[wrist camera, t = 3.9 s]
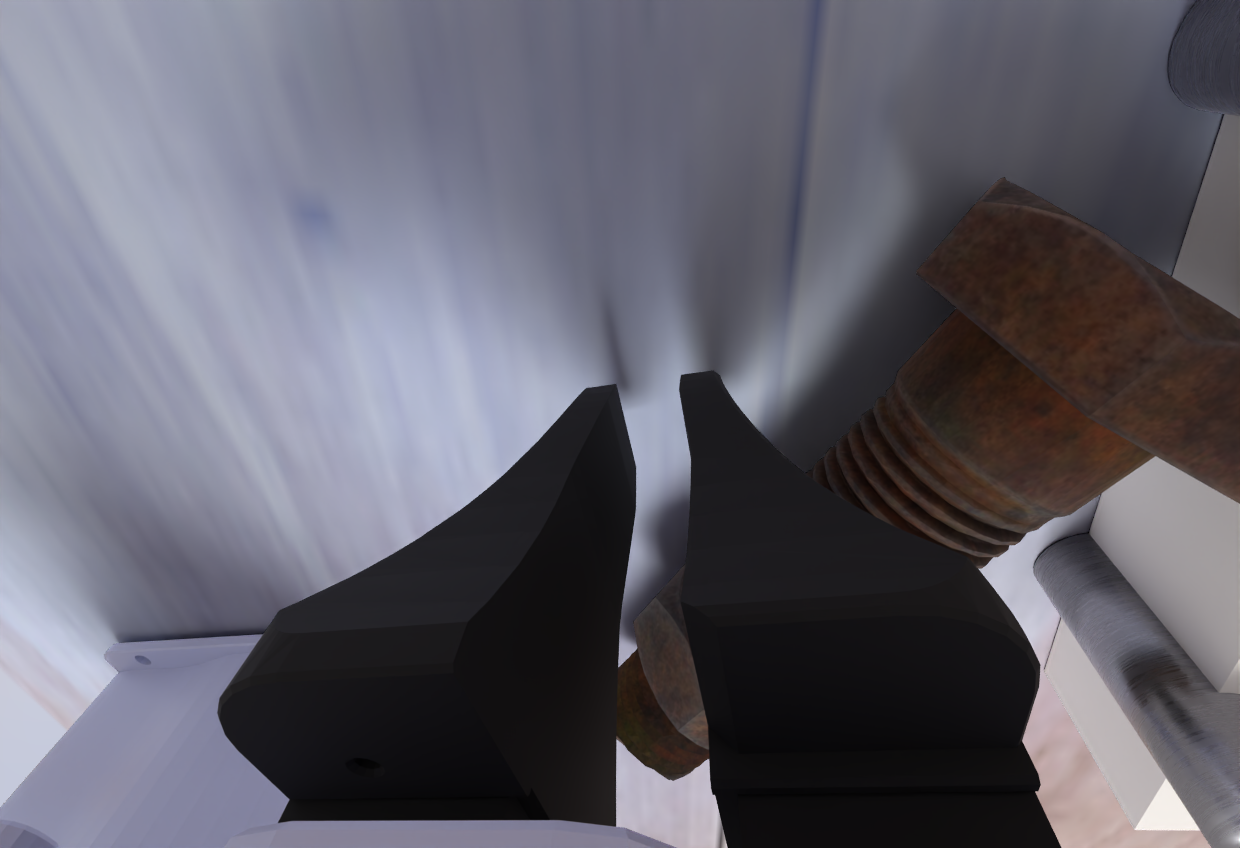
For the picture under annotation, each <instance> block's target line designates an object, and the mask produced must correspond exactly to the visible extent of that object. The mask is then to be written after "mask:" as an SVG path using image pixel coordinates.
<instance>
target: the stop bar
mask: <svg viewBox="0 0 1240 848" xmlns="http://www.w3.org/2000/svg"><path fill="white" fill-rule="evenodd" d="M1168 70H1169V79H1170V83H1171V87H1172V89H1173V91H1174V93H1175V94H1176V96H1177V97H1178V98H1179V99H1180V100H1181V101H1182V102H1183V103H1184V104H1186V105H1188V106H1189V107H1191V108H1194V109H1197V110H1202V111H1208V112H1215V113H1222V114H1225V115H1224V118H1223V121H1222V124H1221V127H1220V130H1219V133H1218V136H1217V139H1216V142H1215V146H1214V149H1213V152H1212V155H1211V158H1210V161H1209V164H1208V167H1207V170H1206V173H1205V176H1204V179H1203V183H1202V186H1201V189H1200V192H1199V195H1198V198H1197V201H1196V204H1195V207H1194V210H1193V213H1192V217H1191V220H1190V223H1189V226H1188V229H1187V232H1186V235H1185V238H1184V241H1183V244H1182V247H1181V250H1180V254H1179V257H1178V260H1177V263H1176V266H1175V269H1174V272H1173V275H1172V277H1173V278H1174V279H1176V280H1178V281H1179V282H1181V283H1182V284H1184V285H1186V286H1187V287H1189V288H1191V289H1192V290H1194V291H1196V292H1197V293H1199V294H1201V295H1202V296H1204V297H1206V298H1207V299H1209V300H1210V301H1212V302H1214V303H1215V304H1217V305H1219V306H1220V307H1222V308H1223V309H1225V310H1227V311H1228V312H1230V313H1231V314H1233V315H1235V316H1236V317H1238V318H1240V0H1197V2H1196V3H1195V4H1194V5H1193V7H1192V8H1191V10H1190V11H1189V13H1188V14H1187V16H1186V17H1185V19H1184V21H1183V22H1182V24H1181V26H1180V28H1179V30H1178V32H1177V35H1176V37H1175V39H1174V42H1173V45H1172V48H1171V53H1170V58H1169V68H1168ZM1034 575H1035V577H1036V579H1037V581H1038V582H1039V584H1040V585H1041V587H1042V588H1043V590H1044V591H1045V593H1046V594H1047V596H1048V597H1049V599H1050V601H1051V602H1052V604H1053V605H1054V607H1055V608H1056V610H1057V611H1058V613H1059V614H1060V616H1061V617H1062V618H1061V621H1060V624H1059V627H1058V630H1057V633H1056V636H1055V639H1054V642H1053V646H1052V649H1051V652H1050V655H1049V658H1048V661H1047V664H1046V667H1045V670H1044V672H1045V674H1046V676H1047V678H1048V679H1049V681H1050V683H1051V685H1052V686H1053V688H1054V690H1055V692H1056V693H1057V695H1058V697H1059V699H1060V700H1061V702H1062V704H1063V706H1064V707H1065V709H1066V711H1067V713H1068V714H1069V716H1070V718H1071V720H1072V721H1073V723H1074V725H1075V727H1076V728H1077V730H1078V732H1079V734H1080V735H1081V737H1082V739H1083V741H1084V743H1085V744H1086V746H1087V748H1088V750H1089V751H1090V753H1091V755H1092V757H1093V758H1094V760H1095V762H1096V764H1097V765H1098V767H1099V769H1100V771H1101V772H1102V774H1103V776H1104V778H1105V779H1106V781H1107V783H1108V785H1109V786H1110V788H1111V790H1112V792H1113V793H1114V795H1115V797H1116V799H1117V800H1118V802H1119V804H1120V806H1121V807H1122V809H1123V811H1124V813H1125V814H1126V816H1127V818H1128V820H1129V822H1130V823H1131V825H1132V827H1133V829H1134V830H1200V831H1201V832H1202V834H1203V835H1204V837H1205V838H1206V840H1207V841H1208V843H1209V844H1210V846H1211V848H1240V504H1239V503H1237V502H1236V501H1234V500H1232V499H1230V498H1228V497H1226V496H1225V495H1223V494H1221V493H1219V492H1218V491H1216V490H1214V489H1212V488H1211V487H1209V486H1207V485H1205V484H1204V483H1202V482H1200V481H1198V480H1197V479H1195V478H1193V477H1191V476H1190V475H1188V474H1186V473H1184V472H1183V471H1181V470H1179V469H1177V468H1176V467H1174V466H1172V465H1170V464H1169V463H1167V462H1165V461H1163V460H1161V459H1160V458H1158V457H1156V456H1155V457H1154V458H1152V459H1151V460H1149V461H1148V462H1146V463H1145V464H1143V465H1142V466H1141V467H1139V468H1138V469H1136V470H1135V471H1133V472H1132V473H1130V474H1129V475H1127V476H1126V477H1124V478H1123V479H1122V480H1120V481H1119V482H1117V483H1116V484H1114V485H1113V486H1111V487H1110V488H1108V489H1107V490H1105V491H1104V492H1103V493H1102V494H1101V497H1100V500H1099V504H1098V507H1097V510H1096V513H1095V516H1094V519H1093V522H1092V525H1091V528H1090V531H1089V533H1088V534H1081V535H1076V536H1072V537H1069V538H1066V539H1063V540H1061V541H1059V542H1057V543H1055V544H1053V545H1052V546H1050V547H1049V548H1047V549H1046V550H1045V551H1044V552H1043V553H1042V554H1041V555H1040V556H1039V557H1038V559H1037V561H1036V562H1035V565H1034Z"/></svg>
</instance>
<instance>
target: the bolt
mask: <svg viewBox="0 0 1240 848" xmlns="http://www.w3.org/2000/svg"><path fill="white" fill-rule="evenodd" d="M916 274H917V275H918V276H919V277H920V278H921V279H923V280H924V281H925V282H926V283H927V284H929V285H930V286H931V287H932V288H933V289H935V290H936V291H937V292H938V293H939V294H940V295H942V296H943V297H944V298H945V299H946V300H948V301H949V302H950V303H951V304H952V305H954V306H955V307H956V308H957V309H956V310H955V311H954V312H953V313H952V314H951V315H950V316H949V317H948V318H947V319H946V320H945V321H944V322H943V323H942V325H941V326H940V327H939V328H938V329H937V330H936V331H935V332H934V333H933V334H932V335H931V336H930V337H929V338H928V339H927V341H926V342H925V343H924V344H923V345H922V346H921V347H920V348H919V349H918V350H917V351H916V352H915V353H914V354H913V356H912V357H911V358H910V359H909V360H908V361H907V362H906V363H905V364H904V365H903V366H902V367H901V368H900V369H899V370H898V372H897V375H896V379H895V382H894V384H893V385H892V386H891V387H890V388H889V389H888V390H887V391H886V396H885V397H880V398H878V399H877V400H876V402H875V405H874V408H873V409H870V410H869V411H867V412H866V413H865V414H864V415H862V417H861V421H860V422H856V423H855V424H854V425H852V426H851V428H850V431H849V434H845V435H844V436H843V437H842V438H841V439H840V440H839V441H838V442H837V443H836V446H834V447H831V448H830V449H829V450H828V451H827V453H826V455H825V457H824V458H822V459H821V460H819V461H818V462H817V463H816V464H815V465H814V468H813V469H812V470H810V471H809V472H807V473H806V474H807V475H808V476H810V477H811V478H812V479H814V480H815V481H816V482H818V483H819V484H821V485H822V486H823V487H825V488H827V489H828V490H830V491H831V492H833V493H835V494H836V495H838V496H839V497H841V498H843V499H844V500H846V501H848V502H849V503H851V504H852V505H854V506H856V507H858V508H859V509H861V510H863V511H865V512H867V513H869V514H871V515H873V516H875V517H877V518H879V519H881V520H883V521H885V522H887V523H889V524H891V525H893V526H895V527H897V528H899V529H901V530H903V531H906V532H908V533H910V534H913V535H915V536H918V537H920V538H923V539H925V540H928V541H930V542H932V543H935V544H937V545H940V546H942V547H945V548H947V549H950V550H952V551H954V552H957V553H959V554H962V555H964V556H967V557H968V558H969V559H970V560H971V561H972V562H973V563H974V564H975V566H976V567H977V568H983V567H984V566H986V565H987V564H988V563H989V561H990V560H991V559H992V558H993V557H999V556H1000V555H1001V554H1003V553H1004V552H1006V551H1007V550H1008V548H1009V545H1016V544H1017V543H1019V542H1020V541H1021V540H1022V539H1023V537H1024V536H1025V535H1026V533H1027V532H1031V531H1034V530H1037V529H1039V528H1040V527H1041V526H1042V525H1044V524H1045V523H1046V522H1048V521H1050V520H1051V519H1053V518H1055V517H1063V516H1067V515H1070V514H1072V513H1073V512H1075V511H1076V510H1078V509H1079V508H1081V507H1082V506H1084V505H1085V504H1086V503H1088V502H1089V501H1091V500H1092V499H1094V498H1095V497H1097V496H1098V495H1100V494H1101V493H1103V492H1104V491H1105V490H1107V489H1108V488H1110V487H1111V486H1113V485H1114V484H1116V483H1117V482H1119V481H1120V480H1122V479H1123V478H1124V477H1126V476H1127V475H1129V474H1130V473H1132V472H1133V471H1135V470H1136V469H1138V468H1139V467H1141V466H1142V465H1143V464H1145V463H1146V462H1148V461H1149V460H1151V459H1152V458H1154V457H1155V456H1156V457H1158V458H1160V459H1161V460H1163V461H1165V462H1167V463H1169V464H1170V465H1172V466H1174V467H1176V468H1177V469H1179V470H1181V471H1183V472H1184V473H1186V474H1188V475H1190V476H1191V477H1193V478H1195V479H1197V480H1198V481H1200V482H1202V483H1204V484H1205V485H1207V486H1209V487H1211V488H1212V489H1214V490H1216V491H1218V492H1219V493H1221V494H1223V495H1225V496H1226V497H1228V498H1230V499H1232V500H1234V501H1236V502H1237V503H1239V504H1240V318H1238V317H1236V316H1235V315H1233V314H1231V313H1230V312H1228V311H1227V310H1225V309H1223V308H1222V307H1220V306H1219V305H1217V304H1215V303H1214V302H1212V301H1210V300H1209V299H1207V298H1206V297H1204V296H1202V295H1201V294H1199V293H1197V292H1196V291H1194V290H1192V289H1191V288H1189V287H1187V286H1186V285H1184V284H1182V283H1181V282H1179V281H1178V280H1176V279H1174V278H1173V277H1171V276H1169V275H1168V274H1166V273H1164V272H1163V271H1161V270H1159V269H1158V268H1156V267H1154V266H1153V265H1151V264H1150V263H1148V262H1146V261H1145V260H1143V259H1141V258H1140V257H1138V256H1136V255H1135V254H1133V253H1131V252H1130V251H1128V250H1127V249H1126V248H1124V247H1123V246H1121V245H1120V244H1118V243H1117V242H1116V241H1114V240H1113V239H1111V238H1110V237H1108V236H1107V235H1106V234H1104V233H1103V232H1101V231H1099V230H1097V229H1096V228H1094V227H1092V226H1090V225H1088V224H1087V223H1085V222H1083V221H1081V220H1080V219H1078V218H1076V217H1074V216H1072V215H1071V214H1069V213H1067V212H1065V211H1063V210H1062V209H1060V208H1058V207H1056V206H1054V205H1053V204H1051V203H1049V202H1047V201H1046V200H1044V199H1042V198H1040V197H1038V196H1037V195H1035V194H1033V193H1031V192H1029V191H1027V190H1025V189H1023V188H1021V187H1019V186H1017V185H1015V184H1013V183H1011V182H1009V181H1007V180H1006V179H1005V177H1004V178H1000V179H999V180H998V181H997V182H996V183H995V184H993V185H992V186H991V188H990V189H989V190H988V191H987V192H986V193H985V194H984V195H983V196H982V197H981V198H980V199H979V200H978V202H977V203H976V204H975V205H974V206H973V207H972V208H971V209H970V211H969V212H968V213H967V214H966V215H965V216H964V217H963V219H962V220H961V221H960V222H959V223H958V224H957V225H956V227H955V228H954V229H953V230H952V231H951V232H950V233H949V234H948V236H947V237H946V238H945V239H944V240H943V241H942V242H941V244H940V245H939V246H938V247H937V248H936V249H935V250H934V252H933V253H932V254H931V255H930V256H929V257H928V258H927V260H926V261H925V262H924V263H923V264H922V265H921V266H920V267H919V269H918V270H917V271H916ZM684 571H685V565H684V566H683V567H682V568H681V569H680V570H679V571H678V572H677V574H676V575H675V576H674V577H673V578H672V579H671V580H670V581H669V582H668V583H667V585H666V586H665V587H664V588H663V589H662V590H661V591H660V592H659V593H658V595H657V596H656V597H655V598H654V599H653V600H652V601H651V602H650V603H649V605H648V606H647V607H646V608H645V609H644V610H643V611H642V612H641V614H640V615H639V616H638V617H637V618H636V619H635V621H634V622H633V624H634V630H635V635H636V641H637V647H638V648H637V650H636V651H635V652H634V653H632V654H631V656H630V657H629V658H628V659H627V660H626V661H625V662H624V663H623V664H622V665H621V666H620V667H619V668H618V685H617V727H616V739H617V740H619V741H620V742H621V743H622V744H623V745H625V747H626V748H627V750H628V751H629V752H630V753H632V754H633V755H634V756H635V757H636V758H637V759H638V760H639V761H640V762H642V763H643V764H644V765H645V766H647V767H649V768H652V769H654V770H655V771H657V772H658V773H659V774H661V775H662V776H664V777H665V778H667V779H668V780H670V779H671V780H672V781H674V780H676V779H678V778H681V777H683V776H685V775H687V774H689V773H691V772H692V771H693V770H694V769H695V768H696V767H698V766H700V765H701V764H702V763H703V762H704V761H705V760H707V759H709V739H708V724H707V719H706V715H705V710H704V706H703V701H702V697H701V692H700V688H699V683H698V679H697V674H696V670H695V665H694V661H693V656H692V652H691V647H690V643H689V638H688V634H687V629H686V625H685V620H684V616H683V611H682V607H681V602H680V600H681V593H682V587H683V579H684Z"/></svg>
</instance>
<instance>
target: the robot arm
mask: <svg viewBox="0 0 1240 848" xmlns="http://www.w3.org/2000/svg"><path fill="white" fill-rule="evenodd" d="M679 392H680V398H681V403H682V409H683V415H684V421H685V427H686V432H687V438H688V444H689V450H690V456H691V493H690V517H689V530H688V544H687V555H686V563H685V571H684V579H683V587H682V593H681V600H680V602H681V607H682V611H683V616H684V620H685V625H686V629H687V634H688V638H689V643H690V647H691V652H692V656H693V661H694V665H695V670H696V674H697V679H698V683H699V688H700V692H701V697H702V701H703V706H704V710H705V715H706V719H707V724H708V739H709V761H710V781H711V789H712V794H713V795H715V796H716V800H717V804H718V809H719V813H720V817H721V821H722V826H723V830H724V834H725V838H726V842H727V847H728V848H1061V846H1060V844H1059V842H1058V839H1057V837H1056V835H1055V833H1054V831H1053V829H1052V827H1051V825H1050V823H1049V820H1048V818H1047V816H1046V814H1045V812H1044V810H1043V808H1042V806H1041V804H1040V801H1039V799H1038V797H1037V795H1036V793H1035V791H1038V790H1039V788H1040V785H1041V784H1040V780H1039V775H1038V773H1037V771H1036V769H1035V766H1034V764H1033V762H1032V760H1031V758H1030V756H1029V754H1028V752H1027V750H1026V748H1025V746H1024V744H1023V742H1022V739H1023V736H1024V732H1025V729H1026V726H1027V723H1028V720H1029V717H1030V713H1031V710H1032V707H1033V704H1034V701H1035V698H1036V694H1037V691H1038V688H1039V679H1040V663H1039V661H1038V659H1037V657H1036V654H1035V652H1034V650H1033V648H1032V646H1031V644H1030V642H1029V640H1028V638H1027V636H1026V635H1025V633H1024V631H1023V629H1022V628H1021V626H1020V625H1019V623H1018V621H1017V620H1016V618H1015V616H1014V615H1013V614H1012V612H1011V611H1010V609H1009V608H1008V607H1007V605H1006V604H1005V603H1004V601H1003V600H1002V599H1001V598H1000V596H999V595H998V594H997V592H996V591H995V590H994V588H993V587H992V586H991V585H990V583H989V582H988V581H987V579H986V578H985V577H984V576H983V574H982V573H981V572H980V571H979V569H978V568H977V567H976V566H975V564H974V563H973V562H972V561H971V560H970V559H969V558H968V557H967V556H964V555H962V554H959V553H957V552H954V551H952V550H950V549H947V548H945V547H942V546H940V545H937V544H935V543H932V542H930V541H928V540H925V539H923V538H920V537H918V536H915V535H913V534H910V533H908V532H906V531H903V530H901V529H899V528H897V527H895V526H893V525H891V524H889V523H887V522H885V521H883V520H881V519H879V518H877V517H875V516H873V515H871V514H869V513H867V512H865V511H863V510H861V509H859V508H858V507H856V506H854V505H852V504H851V503H849V502H848V501H846V500H844V499H843V498H841V497H839V496H838V495H836V494H835V493H833V492H831V491H830V490H828V489H827V488H825V487H823V486H822V485H821V484H819V483H818V482H816V481H815V480H814V479H812V478H811V477H810V476H808V475H807V474H806V473H804V472H803V471H802V470H801V469H799V468H798V467H797V466H796V465H794V464H793V463H792V462H791V461H789V460H788V459H787V458H786V457H785V456H784V455H783V454H782V453H780V452H779V451H778V450H777V449H776V448H775V447H774V446H773V445H772V444H771V443H770V442H769V441H768V440H767V439H766V438H765V437H764V436H763V435H762V434H761V433H760V432H759V431H758V430H757V428H756V427H755V426H754V425H753V424H752V423H751V422H750V420H749V419H748V418H747V417H746V416H745V414H744V413H743V412H742V411H741V409H740V408H739V407H738V406H737V404H736V403H735V401H734V400H733V399H732V397H731V396H730V394H729V393H728V391H727V389H726V388H725V386H724V384H723V382H722V380H721V377H720V375H719V374H718V373H716V372H715V371H714V370H713V371H706V372H699V373H692V374H684V375H681V379H680V387H679ZM635 512H636V465H635V461H634V457H633V452H632V448H631V444H630V440H629V436H628V431H627V427H626V423H625V419H624V415H623V410H622V406H621V402H620V398H619V394H618V389H617V385H616V384H613V385H606V386H599V387H592V388H586V389H585V390H584V391H583V392H582V393H581V394H580V395H579V396H578V397H577V398H576V399H575V400H574V401H573V403H572V404H571V405H570V406H569V407H568V408H567V409H566V411H565V412H564V413H563V414H562V415H561V416H560V417H559V419H558V420H557V421H556V422H555V423H554V424H553V425H552V426H551V427H550V428H549V430H548V431H547V432H546V433H545V434H544V435H543V436H542V437H541V438H540V439H539V441H538V442H537V443H536V444H535V445H534V446H533V447H532V448H531V449H530V450H529V451H528V452H526V453H525V454H524V455H523V456H522V457H521V458H520V459H519V460H518V461H517V462H516V463H515V464H514V465H513V466H512V467H511V468H510V469H509V470H508V471H507V472H506V473H505V474H504V475H503V476H502V477H501V478H499V479H498V480H497V481H496V482H495V483H494V484H492V485H491V486H490V487H489V488H488V489H487V490H485V491H484V492H483V493H482V494H480V495H479V496H478V497H477V498H475V499H474V500H473V501H472V502H470V503H469V504H468V505H466V506H465V507H464V508H462V509H461V510H460V511H458V512H457V513H455V514H454V515H452V516H451V517H449V518H448V519H447V520H445V521H444V522H442V523H441V524H439V525H438V526H436V527H435V528H433V529H432V530H430V531H429V532H427V533H426V534H425V535H423V536H422V537H420V538H419V539H417V540H415V541H414V542H412V543H410V544H409V545H407V546H405V547H404V548H402V549H400V550H399V551H397V552H395V553H394V554H392V555H390V556H389V557H387V558H385V559H383V560H381V561H379V562H378V563H376V564H374V565H372V566H370V567H369V568H367V569H365V570H363V571H361V572H359V573H357V574H355V575H354V576H352V577H350V578H348V579H346V580H344V581H341V582H339V583H337V584H335V585H333V586H331V587H329V588H327V589H325V590H323V591H320V592H318V593H316V594H314V595H312V596H310V597H308V598H306V599H304V600H302V601H299V602H297V603H295V604H293V605H291V606H288V607H286V608H284V609H282V610H280V611H279V612H278V613H277V615H276V616H275V618H274V619H273V621H272V622H271V624H270V625H269V626H268V628H267V629H266V631H265V632H264V634H258V635H242V636H225V637H209V638H192V639H176V640H160V641H143V642H127V643H116V644H113V645H112V646H111V647H110V648H109V649H108V650H107V651H106V652H105V654H104V657H105V660H106V661H107V662H108V663H109V664H110V665H111V666H112V667H113V668H115V669H116V670H117V671H118V672H119V673H118V674H117V675H116V676H115V677H114V678H113V680H112V681H111V682H110V683H109V684H108V685H107V686H106V688H105V689H104V690H103V691H102V692H101V693H100V694H99V695H98V697H97V698H96V699H95V700H94V701H93V702H92V703H91V705H90V706H89V707H88V708H87V709H86V710H85V711H84V713H83V714H82V715H81V716H80V717H79V718H78V719H77V721H76V722H75V723H74V724H73V725H72V726H71V727H70V729H69V730H68V731H67V732H66V733H65V734H64V736H63V737H62V738H61V739H60V740H59V741H58V742H57V743H56V745H55V746H54V747H53V748H52V749H51V750H50V751H49V753H48V754H47V755H46V756H45V757H44V758H43V759H42V761H41V762H40V763H39V764H38V765H37V766H36V768H35V769H34V770H33V771H32V772H31V773H30V774H29V775H28V777H27V778H26V779H25V780H24V781H23V782H22V783H21V784H20V786H19V787H18V788H17V789H16V790H15V791H14V792H13V794H12V795H11V796H10V797H9V798H8V799H7V800H6V802H5V803H4V804H3V805H2V806H1V807H0V848H676V847H673V846H671V845H668V844H666V843H663V842H660V841H658V840H655V839H652V838H650V837H647V836H645V835H642V834H639V833H637V832H634V831H632V830H629V829H626V828H622V827H616V727H617V685H618V656H619V630H620V619H621V609H622V601H623V595H624V588H625V581H626V574H627V568H628V561H629V554H630V547H631V541H632V533H633V526H634V519H635Z"/></svg>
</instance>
